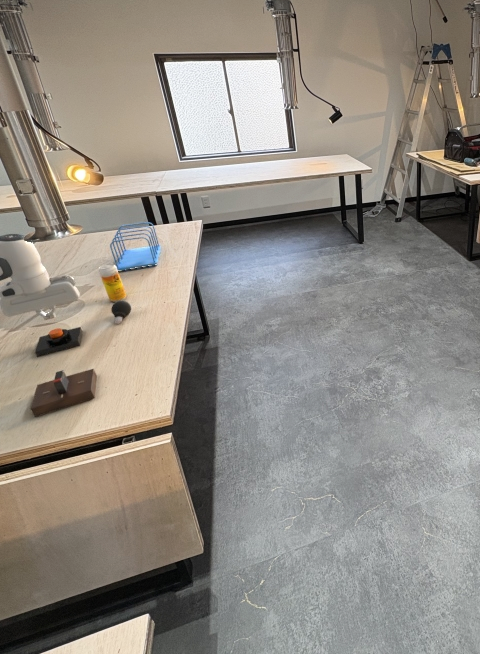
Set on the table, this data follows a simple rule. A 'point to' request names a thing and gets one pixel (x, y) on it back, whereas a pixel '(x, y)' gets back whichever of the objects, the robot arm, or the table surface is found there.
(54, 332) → the button
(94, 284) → the table surface
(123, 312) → the light bulb
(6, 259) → the robot arm
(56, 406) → the rod panel
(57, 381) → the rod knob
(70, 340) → the button block
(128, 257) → the file sorter
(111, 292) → the yellow canister
